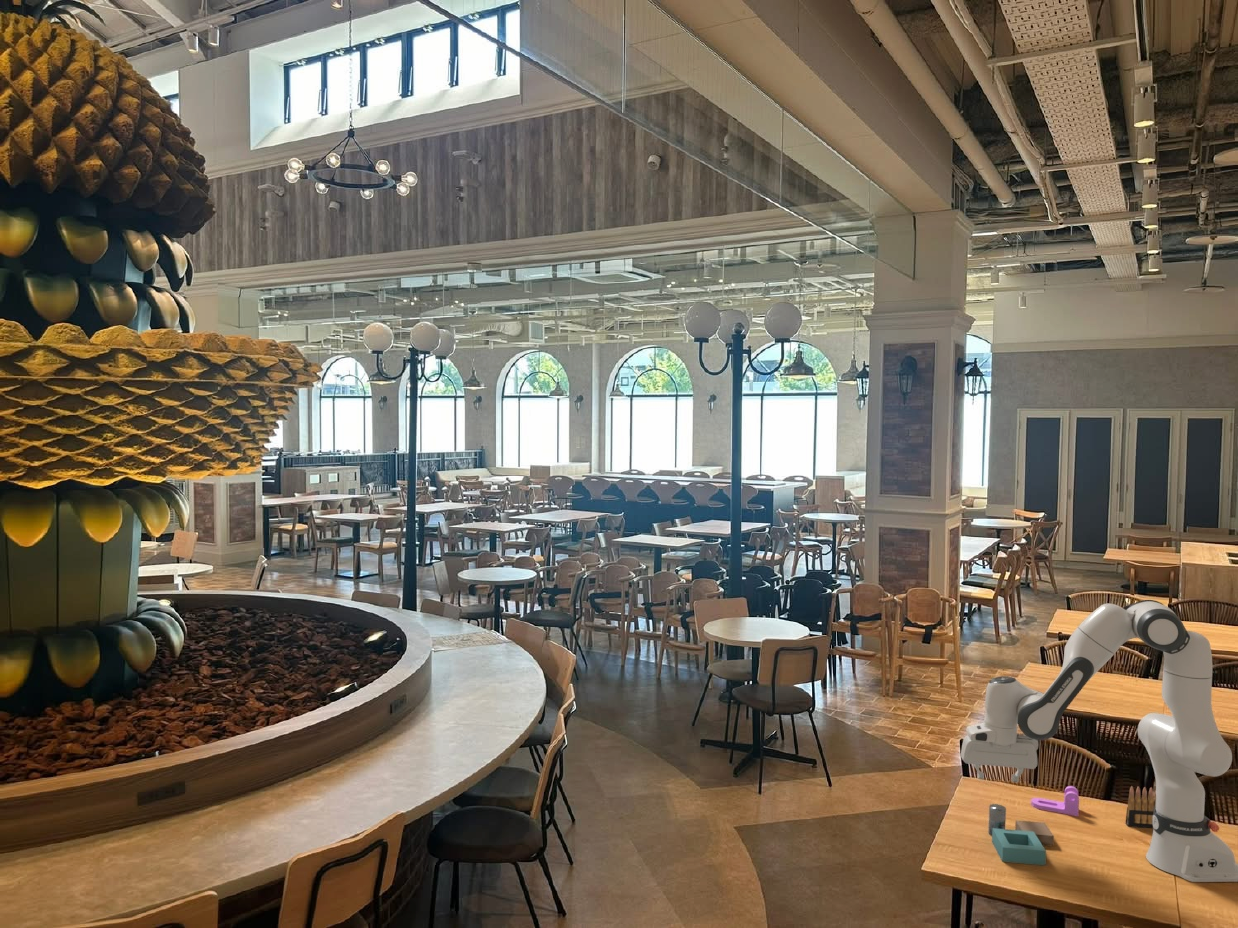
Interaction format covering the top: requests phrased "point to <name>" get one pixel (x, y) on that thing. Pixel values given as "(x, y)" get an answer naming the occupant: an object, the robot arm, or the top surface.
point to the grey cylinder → (996, 817)
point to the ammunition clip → (1140, 809)
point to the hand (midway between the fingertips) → (997, 779)
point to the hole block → (1018, 846)
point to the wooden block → (1037, 831)
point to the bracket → (1060, 803)
